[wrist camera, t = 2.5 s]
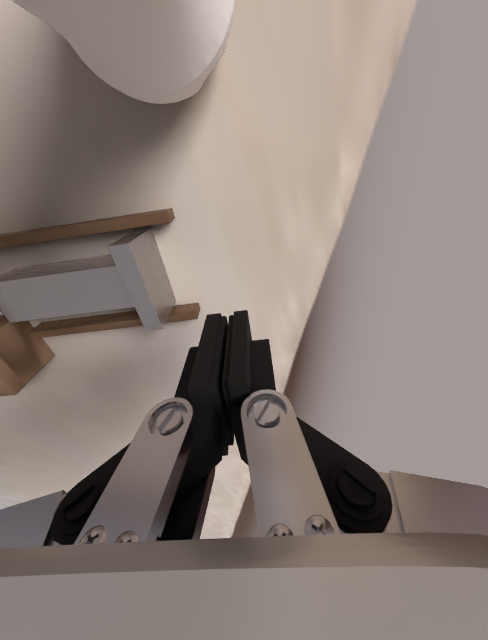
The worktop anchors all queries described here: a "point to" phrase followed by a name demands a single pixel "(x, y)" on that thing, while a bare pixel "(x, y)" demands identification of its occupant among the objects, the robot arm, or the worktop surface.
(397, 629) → the robot arm
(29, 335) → the block
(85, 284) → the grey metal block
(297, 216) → the worktop surface
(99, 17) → the water bottle
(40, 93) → the worktop surface
